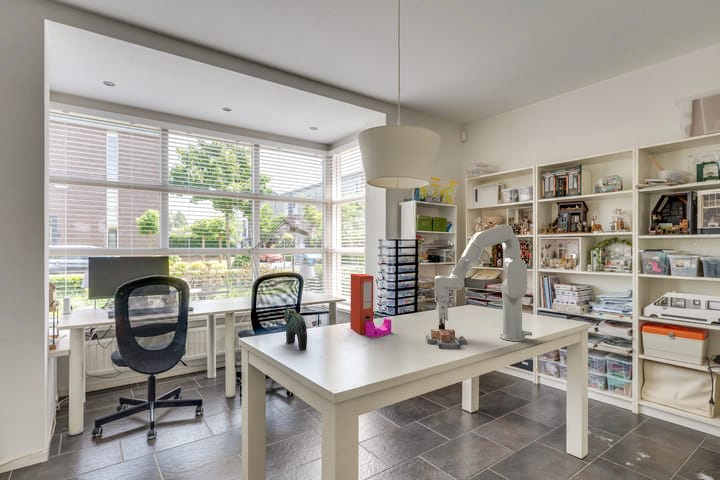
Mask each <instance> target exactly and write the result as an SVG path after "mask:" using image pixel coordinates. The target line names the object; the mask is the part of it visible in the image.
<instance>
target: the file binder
mask: <svg viewBox="0 0 720 480" xmlns="http://www.w3.org/2000/svg"><path fill="white" fill-rule="evenodd" d="M349 312H350V318H349V319H350V323H349V324H350V325H349V327H350V329H351V330H353V331H354V332H356V333H357V334H358V335H362V336H363V334H364V335H366V322H367V321H371V322H374V276H373V275H370V274H365V273H350V311H349Z"/></svg>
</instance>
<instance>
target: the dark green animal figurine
mask: <svg viewBox="0 0 720 480" xmlns="http://www.w3.org/2000/svg"><path fill="white" fill-rule="evenodd" d="M292 307H293V308H290V307H288V306H286V309H285V311H284V313H283V314H284V315H283V316H284V317H283V319H284V321H285V323H286V332H285V339H286V340H285V343H287V342H288V343H287V344H293V343H292V342H295V343H296V338H297V344H298V345H297V346H298V350H299V349H300V350H299V351H304V349H306V350H307V349H308V348H307V347H308V346H307V345H308V333H307V332H308V330H307V324H306V321H305V318H304V317H303V315H301V314H300V313H299V312H297V310H296V305H295V304H292Z"/></svg>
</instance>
